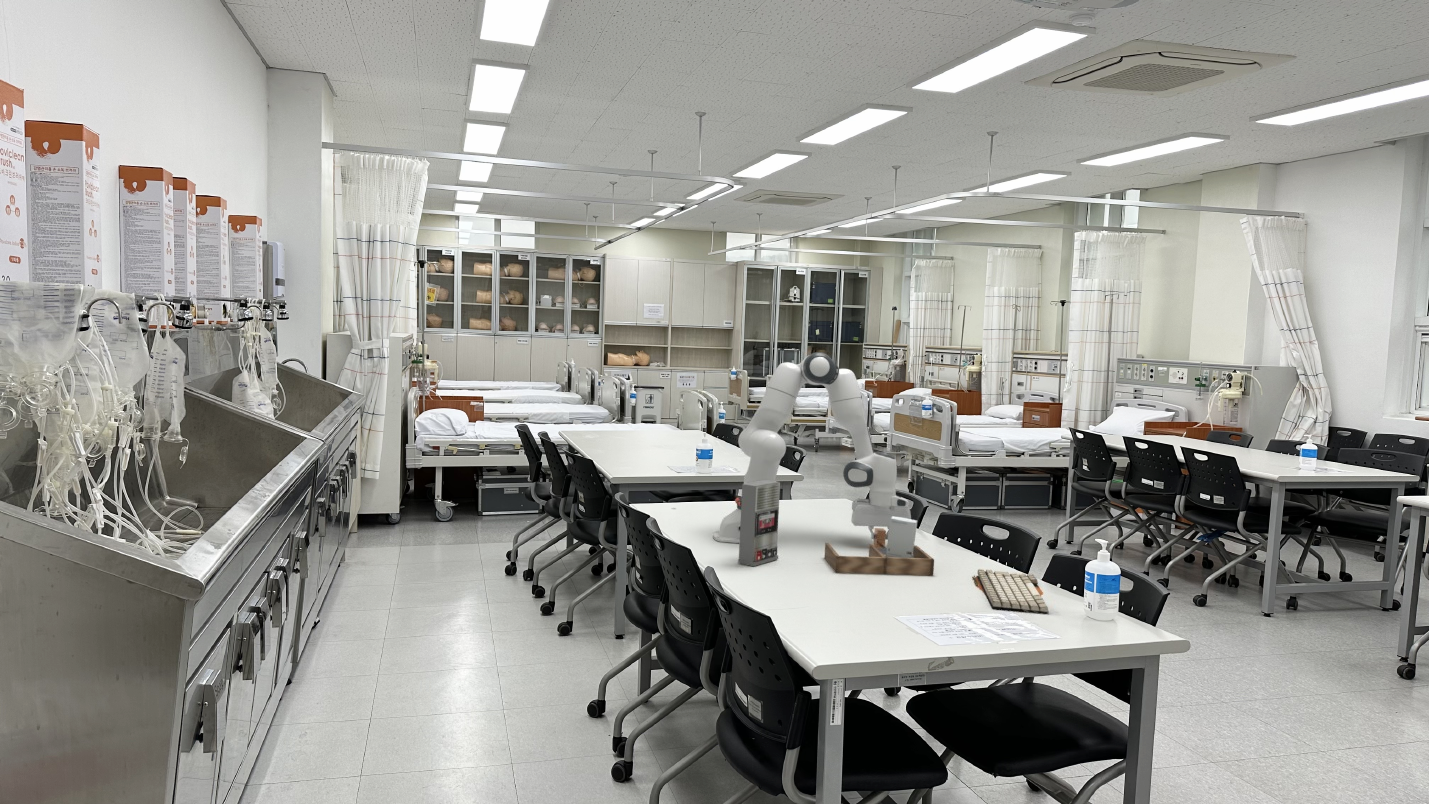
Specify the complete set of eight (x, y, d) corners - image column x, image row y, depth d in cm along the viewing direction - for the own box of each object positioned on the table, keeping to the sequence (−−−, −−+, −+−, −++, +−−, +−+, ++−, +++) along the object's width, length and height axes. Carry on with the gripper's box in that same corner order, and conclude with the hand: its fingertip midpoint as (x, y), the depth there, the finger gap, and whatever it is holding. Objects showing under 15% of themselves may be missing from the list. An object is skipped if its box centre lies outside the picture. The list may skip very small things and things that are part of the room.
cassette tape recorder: (754, 567, 275) (758, 486, 273) (737, 563, 278) (741, 484, 277) (778, 560, 286) (782, 482, 284) (762, 556, 289) (766, 479, 288)
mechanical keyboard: (1061, 618, 237) (1062, 605, 237) (987, 612, 240) (988, 600, 240) (1033, 582, 275) (1034, 571, 274) (969, 578, 278) (970, 567, 277)
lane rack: (835, 572, 272) (836, 556, 272) (824, 557, 291) (825, 542, 291) (933, 575, 274) (934, 559, 274) (915, 560, 293) (916, 545, 293)
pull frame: (885, 568, 279) (886, 549, 279) (861, 544, 312) (862, 527, 311) (921, 569, 280) (922, 550, 279) (894, 545, 312) (895, 528, 312)
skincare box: (884, 564, 284) (888, 518, 283) (886, 560, 290) (891, 515, 289) (911, 568, 281) (915, 521, 280) (913, 564, 287) (917, 519, 286)
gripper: (854, 500, 305) (852, 540, 306) (913, 502, 306) (911, 542, 307) (850, 496, 311) (848, 536, 312) (908, 498, 312) (906, 538, 313)
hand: (879, 539), depth 310 cm, fingers closed on pull frame, 3 cm apart
